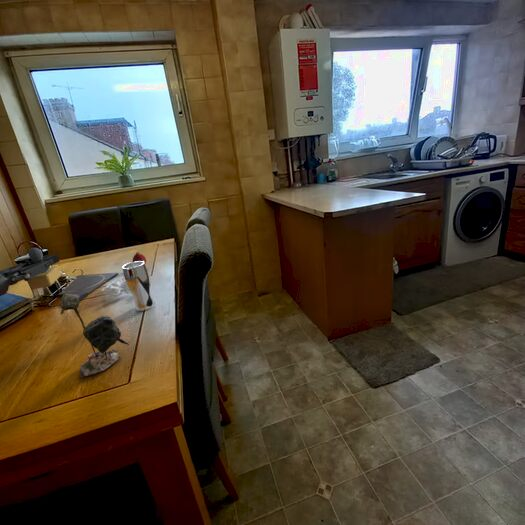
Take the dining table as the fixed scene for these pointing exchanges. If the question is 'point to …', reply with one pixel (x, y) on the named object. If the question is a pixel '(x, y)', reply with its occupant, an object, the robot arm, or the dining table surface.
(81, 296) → the ink pad
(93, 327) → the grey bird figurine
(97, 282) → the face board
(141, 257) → the onion
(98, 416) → the dining table surface
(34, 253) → the rubber stamp
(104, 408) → the dining table surface
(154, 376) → the dining table surface
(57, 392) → the dining table surface
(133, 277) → the beer glass
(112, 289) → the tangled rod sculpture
